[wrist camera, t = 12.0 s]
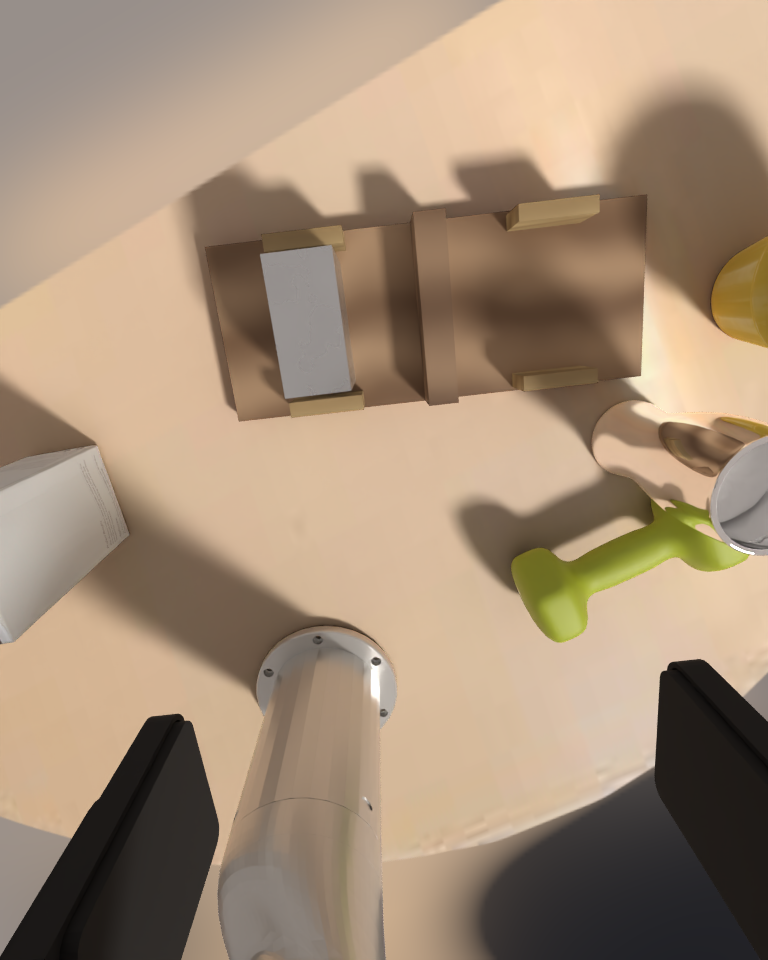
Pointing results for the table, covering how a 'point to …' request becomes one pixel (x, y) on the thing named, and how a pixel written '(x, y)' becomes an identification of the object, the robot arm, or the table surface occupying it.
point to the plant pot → (744, 295)
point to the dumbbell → (608, 570)
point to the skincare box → (52, 531)
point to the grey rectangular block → (309, 321)
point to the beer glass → (693, 467)
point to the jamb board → (453, 305)
